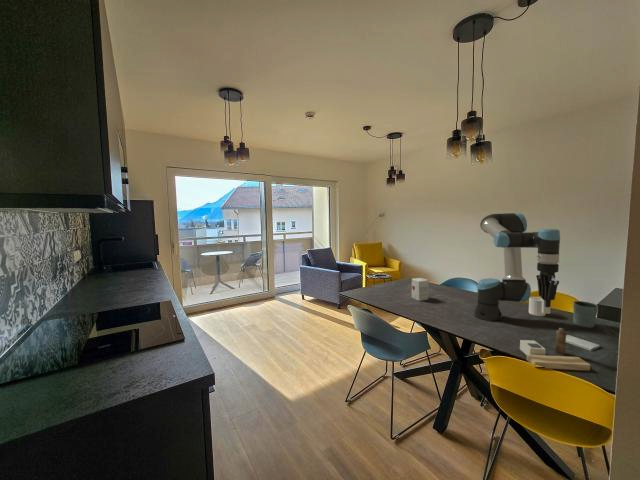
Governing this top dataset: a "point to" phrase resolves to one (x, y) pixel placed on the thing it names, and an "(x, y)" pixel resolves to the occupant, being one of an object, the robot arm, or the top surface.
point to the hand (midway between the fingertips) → (545, 313)
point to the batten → (559, 362)
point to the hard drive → (581, 343)
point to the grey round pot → (584, 313)
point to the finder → (531, 347)
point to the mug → (535, 306)
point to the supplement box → (420, 289)
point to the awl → (560, 341)
